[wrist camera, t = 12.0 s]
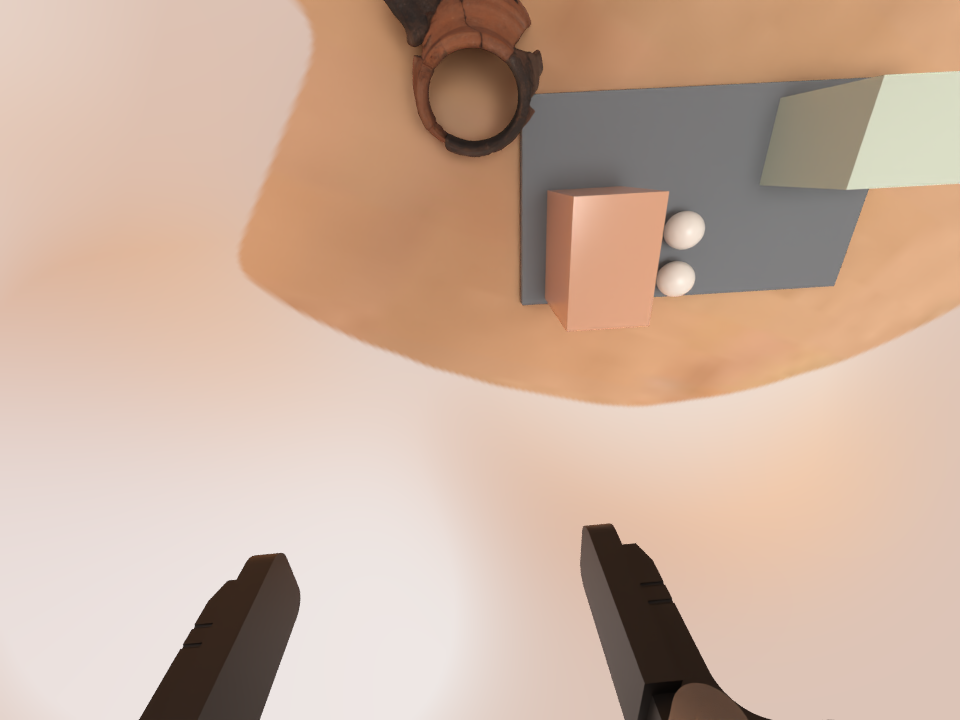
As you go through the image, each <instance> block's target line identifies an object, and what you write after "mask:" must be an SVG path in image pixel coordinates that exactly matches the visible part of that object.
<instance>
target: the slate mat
mask: <svg viewBox="0 0 960 720" xmlns="http://www.w3.org/2000/svg"><path fill="white" fill-rule="evenodd" d="M872 78H873V77H872ZM864 79H868V78H851V79H831V80H811V81H790V82H770V83H750V84H730V85H709V86H689V87H669V88H649V89H628V90H608V91H588V92H567V93H547V94H534V95H533V97H532V98H531V102H530V106H531V107H532V109H534V110H535V113H534V114H533V116H532V117H531V119H530V120H529V121H528V123H527V124H526V125H525V126H524V127H523V128H522V130H521V132H520V181H521V303H522V305H533V304H548V303H547V301H546V300H545V273H546V230H547V190H563V189H581V188H598V187H615V186H625V187H634V188H644V189H653V190H663V191H669V197H668V203H667V210H666V217H665V224H664V227H665V225H666V223H667V221H668V220H669V219H670V218H671V217H672V216H673V215H675V214H677V213H679V212H682V211H692V212H695V213H697V214H699V215H700V216H701V217H702V219H703V220H704V223H705V232H704V235H703V237H702V239H701V240H700V241H699V242H698V243H697V244H696V245H695V246H693V247H691V248H688V249H684V250H679V249H675V248H672V247H671V246H669V245H668V244H667V243H666V241H665V239H664V230H663V237H662V244H661V250H660V257H659V264H658V270H657V274H658V272H659V270H660V269H661V268H662V267H663V266H664V265H666V264H668V263H670V262H673V261H682V262H685V263H687V264H689V265H690V266H691V267H692V268H693V270H694V272H695V282H694V285H693V287H692V288H691V289H690V290H689V291H688V292H687V293H685V294H684V295H695V294H712V293H728V292H744V291H760V290H776V289H793V288H809V287H825V286H834V285H835V282H836V279H837V276H838V274H839V271H840V268H841V265H842V262H843V260H844V257H845V254H846V251H847V248H848V246H849V243H850V240H851V237H852V234H853V232H854V229H855V226H856V223H857V221H858V218H859V215H860V212H861V209H862V207H863V204H864V201H865V198H866V195H867V193H868V190H869V189H853V190H839V189H820V188H802V187H783V186H764V185H759V184H760V180H761V176H762V172H763V168H764V164H765V160H766V156H767V152H768V147H769V143H770V139H771V135H772V131H773V127H774V123H775V119H776V115H777V111H778V106H779V102H780V98H782V97H787V96H791V95H796V94H800V93H805V92H810V91H814V90H819V89H823V88H828V87H832V86H837V85H841V84H846V83H850V82H855V81H859V80H864ZM656 278H657V277H656ZM663 296H667V295H665V294H663V293H662V292H661V291H660V290H659V289H658V287H657V283H656V284H655V290H654V297H663Z"/></svg>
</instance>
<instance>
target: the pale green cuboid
mask: <svg viewBox="0 0 960 720" xmlns="http://www.w3.org/2000/svg"><path fill="white" fill-rule="evenodd" d="M942 184H960V71H953V72H933V73H912V74H892V75H882V76H877V77H873V78H868V79H864V80H859V81H855V82H850V83H846V84H841V85H837V86H832V87H828V88H823V89H819V90H814V91H810V92H805V93H800V94H796V95H791V96H787V97H782V98H780V102H779V106H778V111H777V115H776V119H775V123H774V127H773V131H772V135H771V139H770V143H769V147H768V152H767V156H766V160H765V164H764V168H763V172H762V176H761V180H760V184H759V185H764V186H783V187H802V188H820V189H839V190H853V189H871V188H889V187H907V186H925V185H942Z"/></svg>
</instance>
